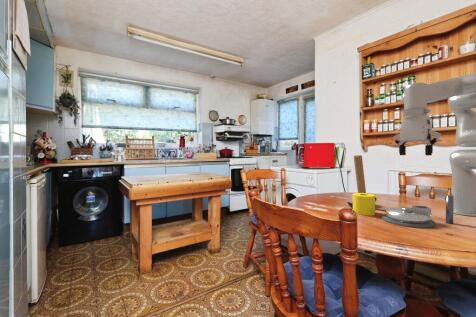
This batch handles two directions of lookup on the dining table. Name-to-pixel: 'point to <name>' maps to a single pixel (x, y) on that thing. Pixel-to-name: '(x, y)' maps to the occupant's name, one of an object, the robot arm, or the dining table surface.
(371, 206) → the tape roll
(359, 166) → the hammer
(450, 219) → the steel pin
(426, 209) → the grey pot lid
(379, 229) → the dining table surface
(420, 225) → the base
